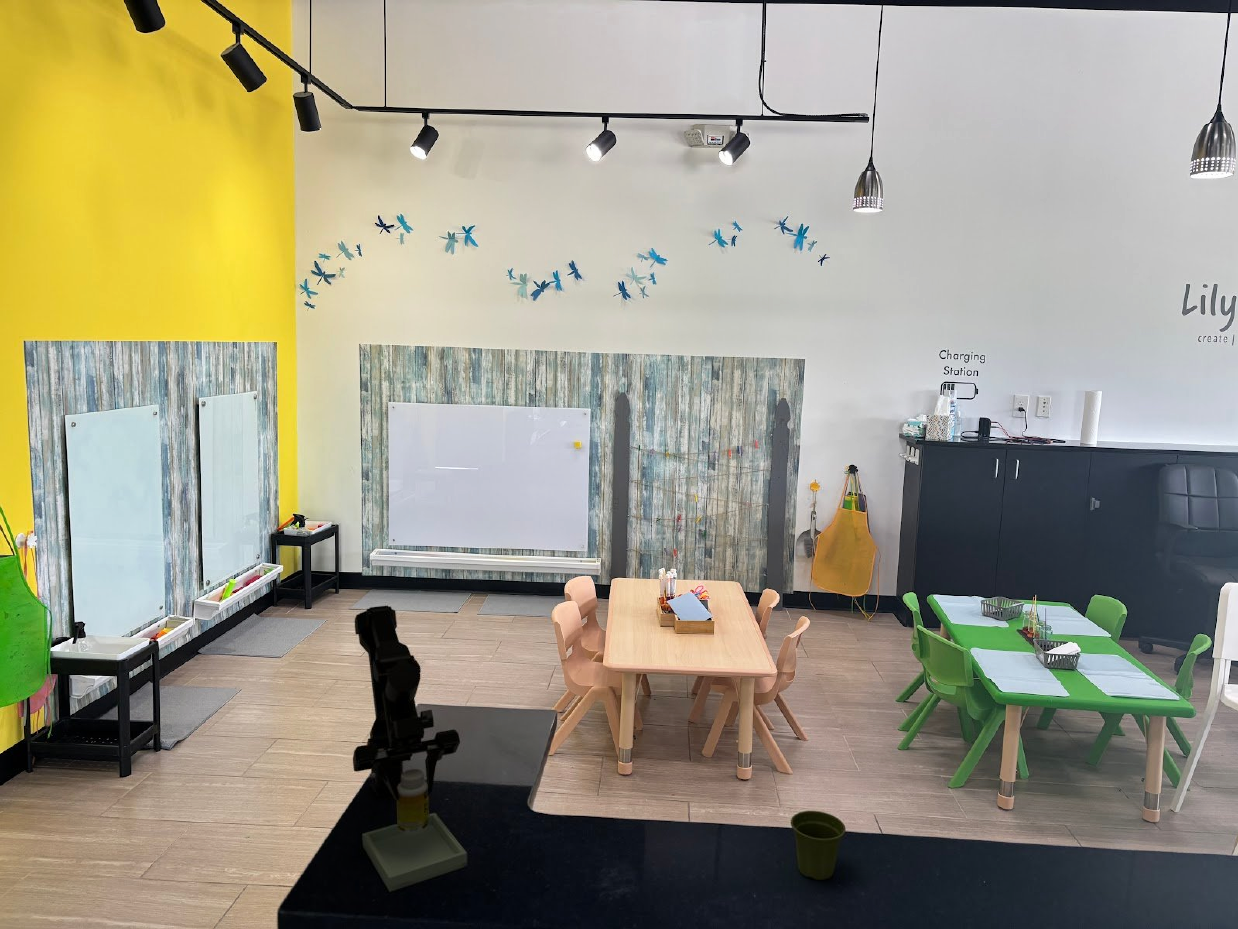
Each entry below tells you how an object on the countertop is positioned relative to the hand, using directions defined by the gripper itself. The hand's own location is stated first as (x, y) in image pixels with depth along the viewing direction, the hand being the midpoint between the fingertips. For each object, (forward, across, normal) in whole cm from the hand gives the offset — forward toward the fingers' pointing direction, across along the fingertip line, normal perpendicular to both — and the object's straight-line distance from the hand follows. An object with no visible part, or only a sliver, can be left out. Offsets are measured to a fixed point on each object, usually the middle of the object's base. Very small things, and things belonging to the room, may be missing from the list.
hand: (414, 796), depth 153 cm
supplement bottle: (+4, 0, +6) cm, 7 cm away
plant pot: (+31, +64, -14) cm, 73 cm away
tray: (+8, 0, +9) cm, 12 cm away
